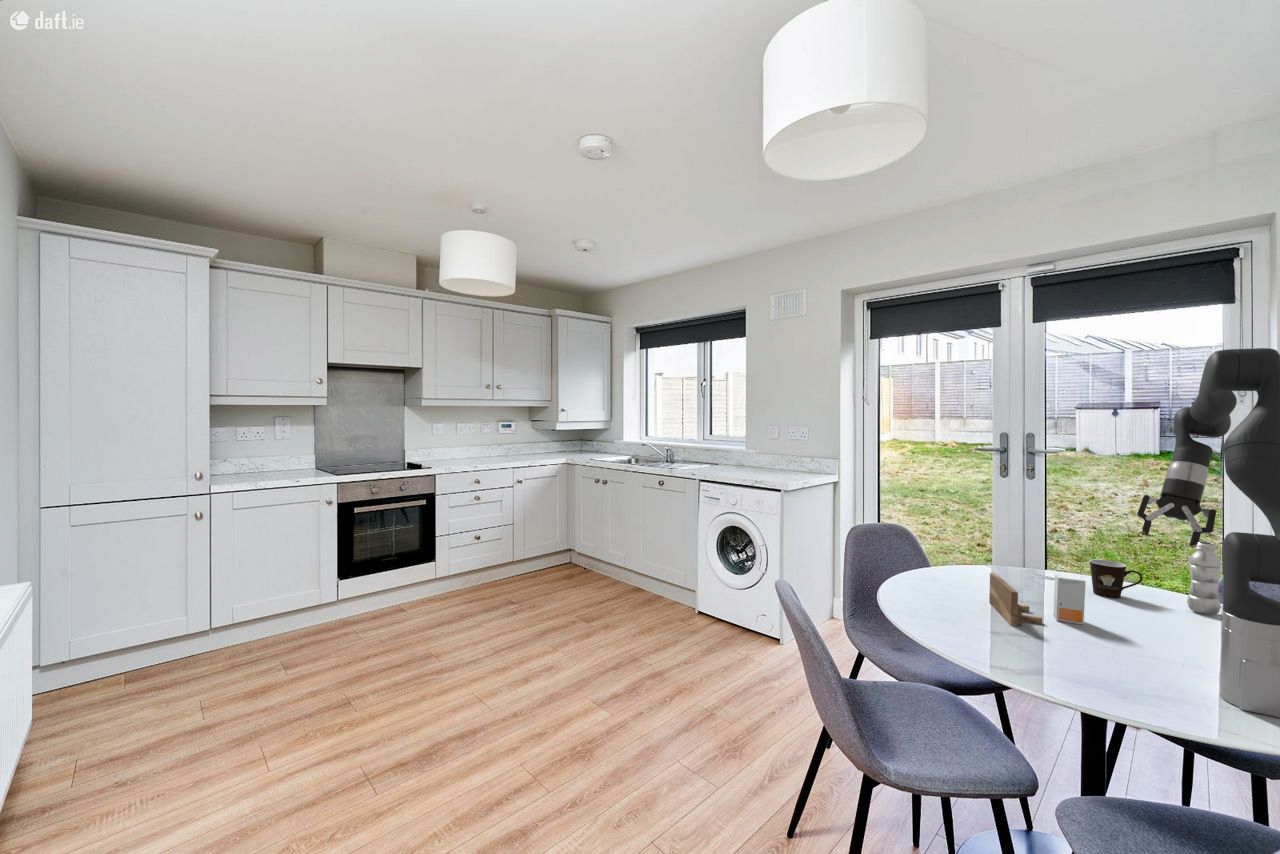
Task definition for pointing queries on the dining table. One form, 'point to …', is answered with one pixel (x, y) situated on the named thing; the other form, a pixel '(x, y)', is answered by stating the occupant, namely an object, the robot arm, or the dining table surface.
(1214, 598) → the plastic bottle
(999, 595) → the wooden stand
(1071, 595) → the skincare box
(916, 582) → the dining table surface
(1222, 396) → the robot arm
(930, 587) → the dining table surface
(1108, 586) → the coffee mug
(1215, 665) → the dining table surface
